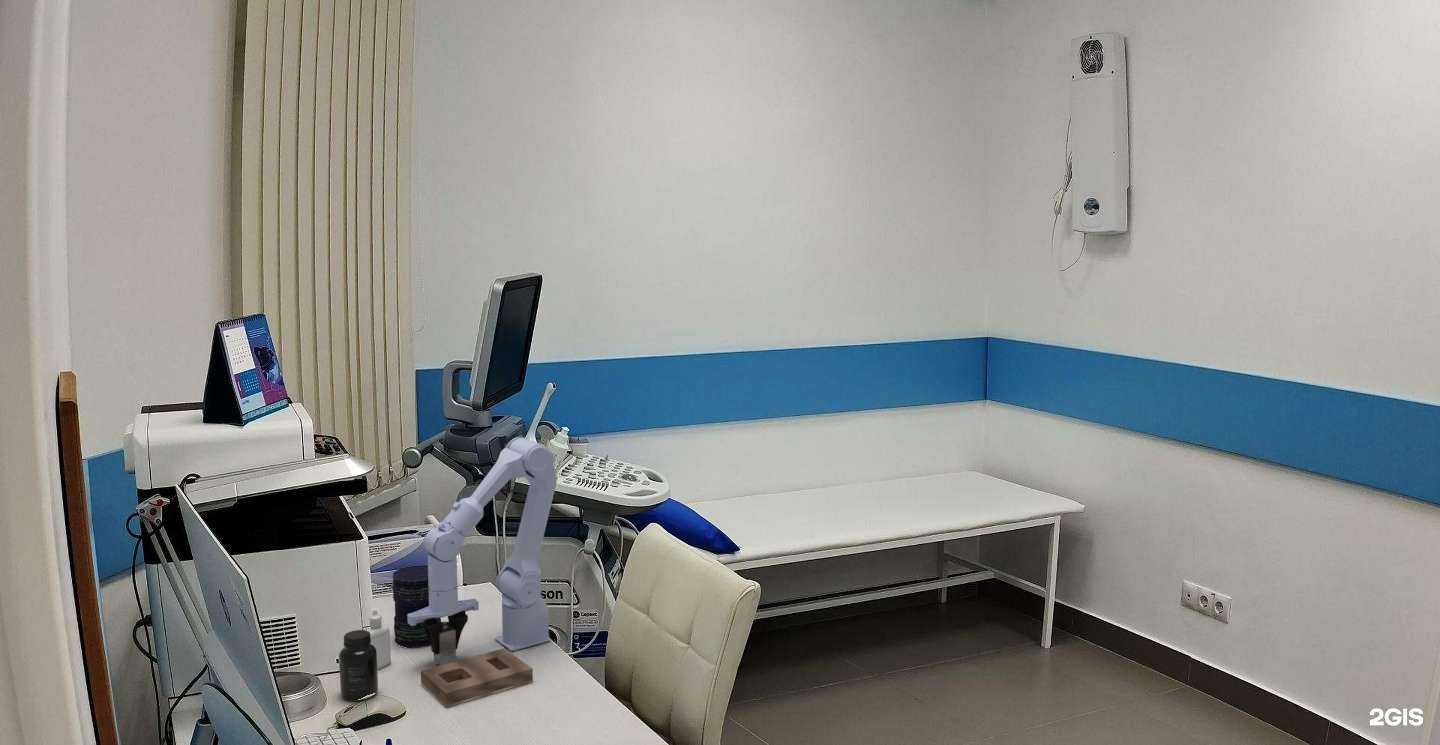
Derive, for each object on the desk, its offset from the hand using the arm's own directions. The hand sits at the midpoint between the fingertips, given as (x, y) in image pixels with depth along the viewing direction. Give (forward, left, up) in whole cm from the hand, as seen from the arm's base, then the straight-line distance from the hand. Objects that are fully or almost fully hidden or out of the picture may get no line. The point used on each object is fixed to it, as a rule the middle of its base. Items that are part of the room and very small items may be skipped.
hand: (444, 650), depth 212 cm
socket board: (-1, +13, -2) cm, 13 cm away
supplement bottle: (+19, +4, -3) cm, 20 cm away
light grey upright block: (0, 0, -2) cm, 2 cm away
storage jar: (0, -14, -3) cm, 14 cm away
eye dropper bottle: (+12, -6, -3) cm, 14 cm away
